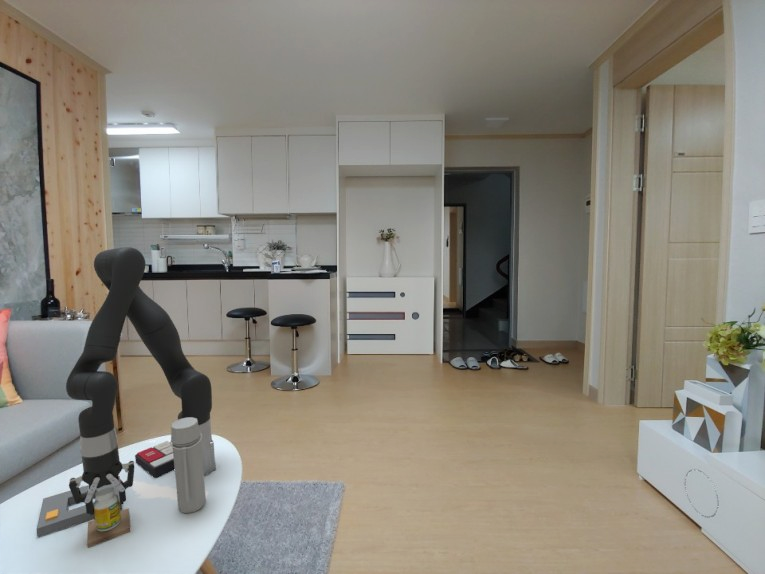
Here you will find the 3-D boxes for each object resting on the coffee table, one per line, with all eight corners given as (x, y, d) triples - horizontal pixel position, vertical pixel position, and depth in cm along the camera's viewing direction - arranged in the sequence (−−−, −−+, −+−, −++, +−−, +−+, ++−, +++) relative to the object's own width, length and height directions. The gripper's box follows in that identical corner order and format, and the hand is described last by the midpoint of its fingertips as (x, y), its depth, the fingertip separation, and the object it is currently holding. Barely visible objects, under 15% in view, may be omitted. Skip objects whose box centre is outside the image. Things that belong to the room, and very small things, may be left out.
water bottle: (179, 500, 114) (171, 418, 111) (208, 494, 117) (202, 414, 113) (172, 522, 106) (164, 434, 102) (205, 516, 108) (198, 430, 104)
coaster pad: (128, 511, 110) (128, 507, 110) (130, 532, 103) (130, 527, 102) (88, 525, 105) (88, 521, 105) (87, 548, 97) (86, 543, 97)
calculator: (168, 439, 142) (188, 451, 133) (169, 450, 142) (189, 463, 133) (134, 452, 133) (153, 466, 124) (135, 464, 134) (155, 479, 124)
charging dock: (120, 483, 122) (119, 473, 122) (122, 509, 111) (121, 498, 111) (44, 506, 112) (43, 496, 112) (37, 537, 101) (36, 526, 100)
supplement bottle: (104, 517, 106) (100, 484, 105) (125, 516, 106) (121, 483, 105) (91, 533, 101) (86, 498, 99) (113, 531, 101) (108, 497, 100)
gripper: (132, 432, 107) (138, 490, 110) (64, 450, 99) (73, 511, 102) (134, 445, 101) (140, 505, 104) (62, 464, 93) (71, 529, 96)
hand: (107, 507), depth 103 cm, fingers open, 5 cm apart
